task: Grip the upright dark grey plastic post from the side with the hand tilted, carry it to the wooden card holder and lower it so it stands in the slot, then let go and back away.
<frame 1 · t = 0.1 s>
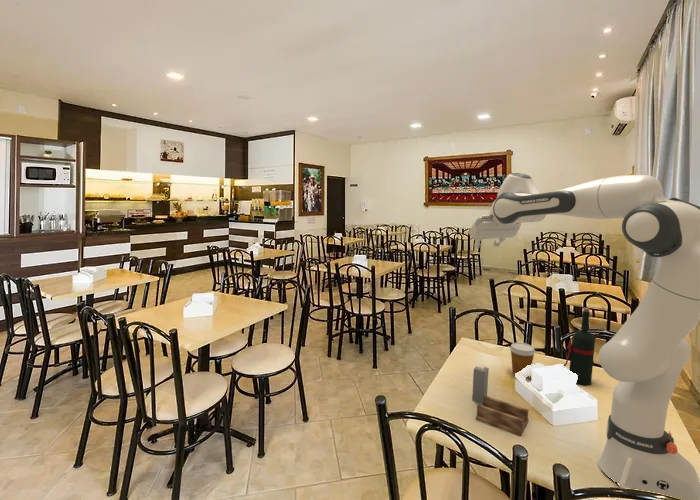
hand: (486, 246, 141), 54 cm above the table, tool tilted 30°, fingers open, 8 cm apart
wooden card holder: (501, 420, 122), on the table
wine bottle: (576, 380, 149), on the table
disposable coffee cup: (520, 374, 154), on the table
post: (479, 399, 134), on the table
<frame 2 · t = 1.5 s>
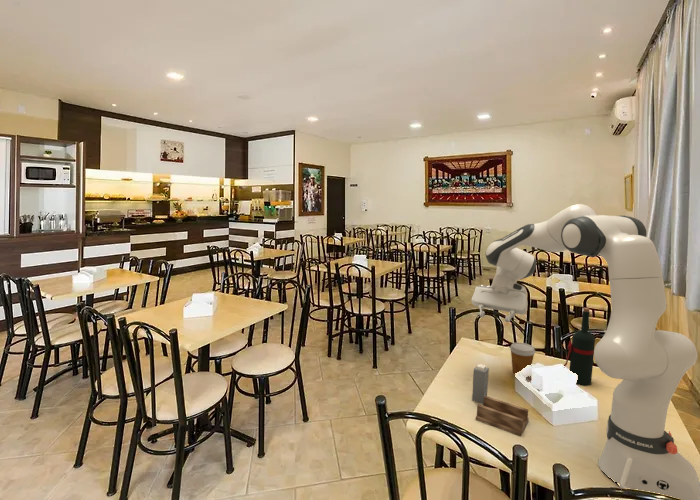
hand: (494, 318, 140), 27 cm above the table, tool tilted 45°, fingers open, 8 cm apart
nothing on the table moved.
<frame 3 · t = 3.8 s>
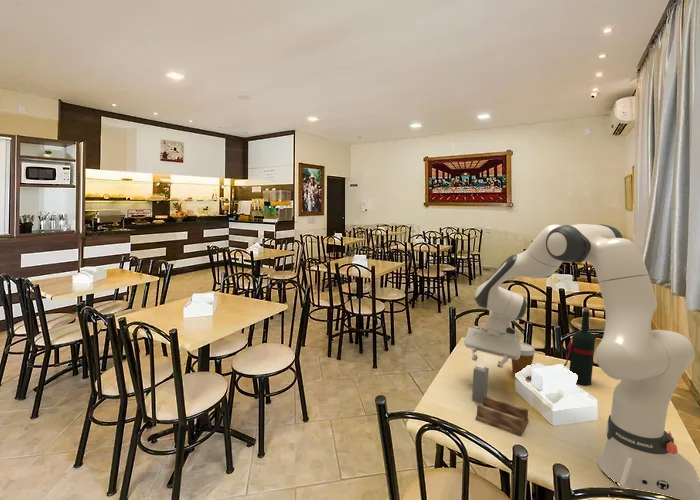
hand: (486, 363, 137), 12 cm above the table, tool tilted 45°, fingers open, 8 cm apart
nothing on the table moved.
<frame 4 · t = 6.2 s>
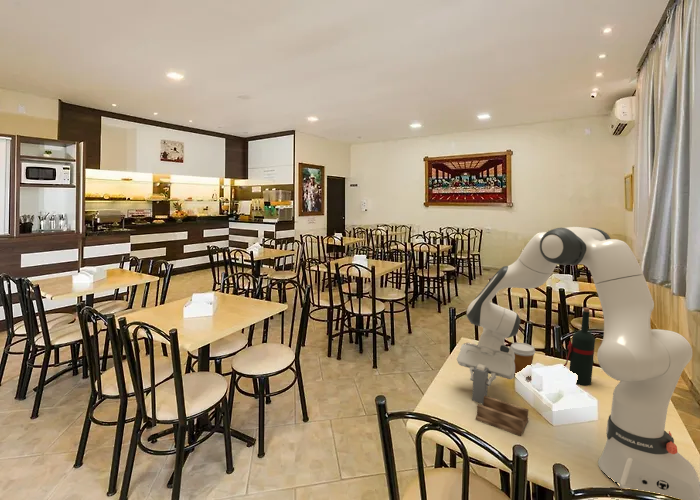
hand: (479, 382, 133), 7 cm above the table, tool tilted 45°, fingers closed on post, 4 cm apart
post: (479, 399, 134), on the table, touching gripper
everything else where it was.
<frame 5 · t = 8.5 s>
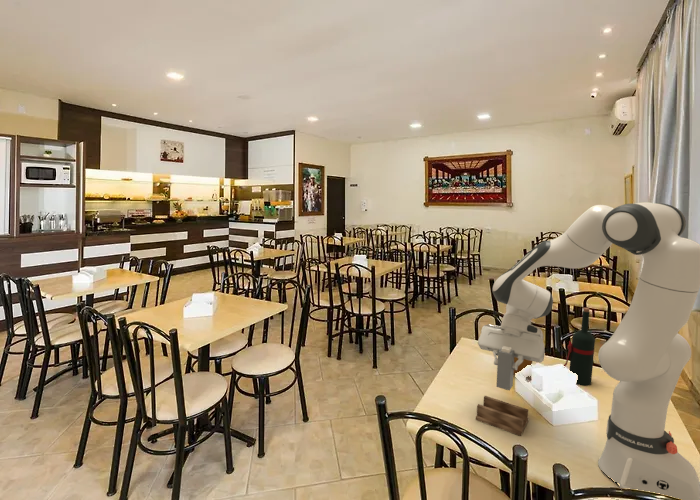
hand: (505, 366, 119), 19 cm above the table, tool tilted 45°, fingers closed on post, 4 cm apart
post: (504, 386, 120), point 12 cm above the table, touching gripper
everything else where it was.
when the fingers open (9 cm above the table, at t = 11.2 s): post drops 1 cm, resting on wooden card holder.
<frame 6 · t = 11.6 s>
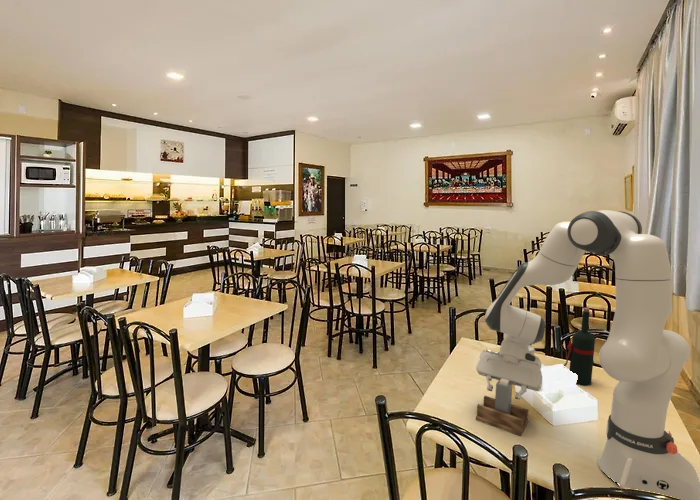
hand: (503, 394, 120), 9 cm above the table, tool tilted 45°, fingers open, 7 cm apart
post: (502, 417, 122), point 1 cm above the table, touching wooden card holder
everything else where it was.
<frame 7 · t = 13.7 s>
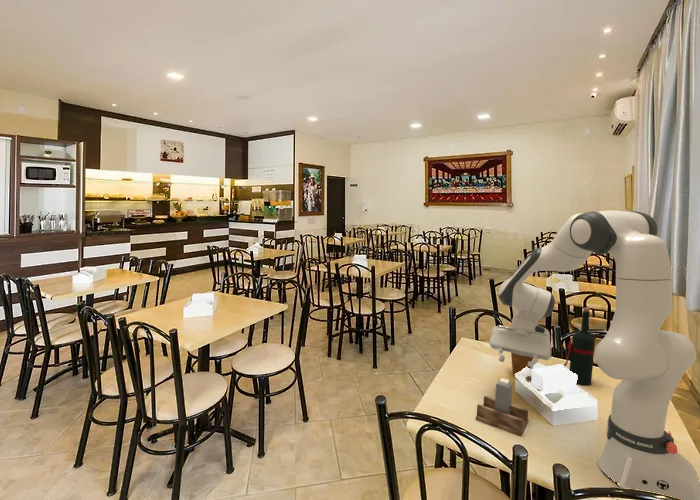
hand: (515, 364, 129), 15 cm above the table, tool tilted 45°, fingers open, 8 cm apart
nothing on the table moved.
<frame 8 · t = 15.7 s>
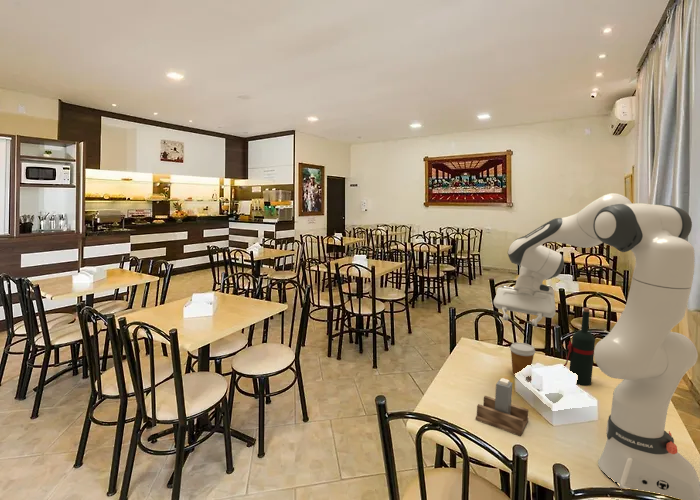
hand: (519, 322, 130), 29 cm above the table, tool tilted 45°, fingers open, 8 cm apart
nothing on the table moved.
at the end: post inside the target area on the wooden card holder (0.1 cm from its centre), point 1.0 cm above the wooden card holder's base; post tilted 0°; the gripper is holding nothing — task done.
